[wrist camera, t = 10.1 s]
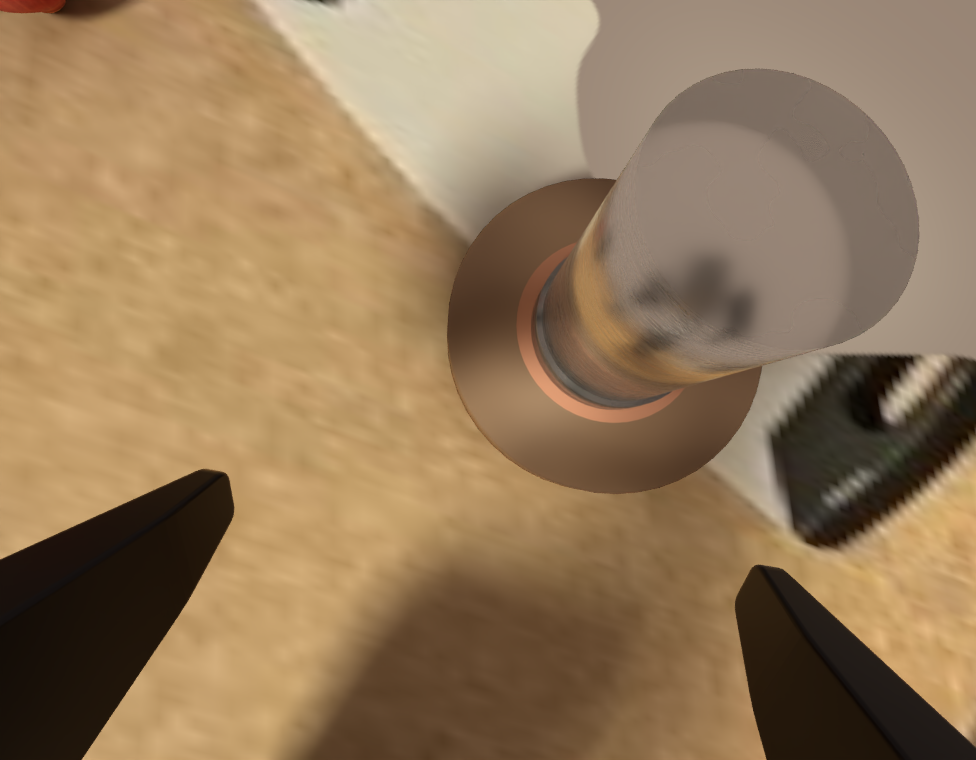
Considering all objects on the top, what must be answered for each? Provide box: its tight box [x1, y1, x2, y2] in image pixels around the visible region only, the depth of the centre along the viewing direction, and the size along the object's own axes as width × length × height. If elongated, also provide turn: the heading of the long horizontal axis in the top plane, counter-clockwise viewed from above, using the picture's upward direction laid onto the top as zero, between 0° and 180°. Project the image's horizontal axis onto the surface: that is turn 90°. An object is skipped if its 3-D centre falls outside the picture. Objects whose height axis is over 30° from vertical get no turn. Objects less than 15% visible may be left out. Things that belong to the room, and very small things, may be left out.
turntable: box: [447, 179, 762, 494], centre depth 21 cm, size 13×13×3 cm
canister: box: [531, 69, 919, 410], centre depth 15 cm, size 6×6×10 cm
